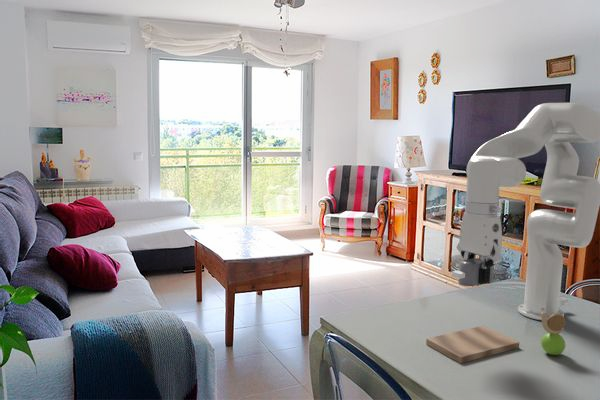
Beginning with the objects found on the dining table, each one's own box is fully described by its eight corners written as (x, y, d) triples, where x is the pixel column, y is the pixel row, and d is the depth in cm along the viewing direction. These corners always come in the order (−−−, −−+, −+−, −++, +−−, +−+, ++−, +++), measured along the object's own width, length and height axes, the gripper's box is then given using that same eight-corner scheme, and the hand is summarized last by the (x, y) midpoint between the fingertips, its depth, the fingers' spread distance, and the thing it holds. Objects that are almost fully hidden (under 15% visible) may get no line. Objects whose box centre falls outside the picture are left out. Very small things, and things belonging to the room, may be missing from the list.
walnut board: (482, 330, 144) (483, 325, 143) (519, 347, 133) (519, 342, 133) (426, 344, 134) (426, 338, 134) (460, 363, 124) (460, 357, 124)
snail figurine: (532, 349, 132) (536, 304, 130) (556, 349, 133) (560, 303, 131) (543, 359, 127) (547, 311, 125) (569, 358, 127) (573, 311, 126)
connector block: (484, 277, 135) (485, 256, 134) (496, 281, 132) (497, 260, 131) (449, 283, 130) (450, 262, 129) (460, 288, 126) (462, 266, 125)
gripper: (520, 213, 123) (514, 288, 126) (467, 203, 138) (463, 270, 140) (497, 215, 120) (492, 292, 122) (445, 204, 134) (441, 274, 137)
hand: (476, 280), depth 131 cm, fingers closed on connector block, 4 cm apart
